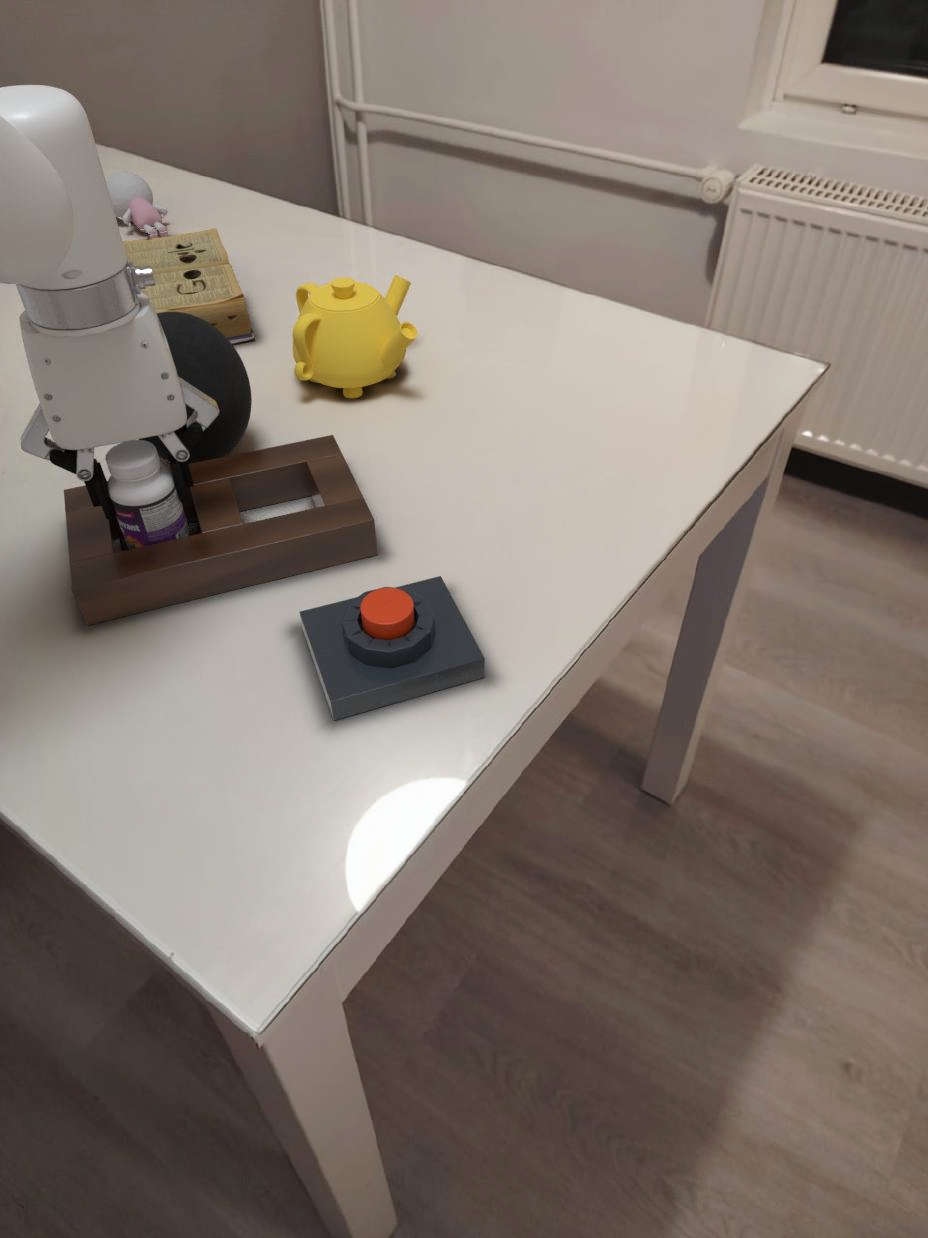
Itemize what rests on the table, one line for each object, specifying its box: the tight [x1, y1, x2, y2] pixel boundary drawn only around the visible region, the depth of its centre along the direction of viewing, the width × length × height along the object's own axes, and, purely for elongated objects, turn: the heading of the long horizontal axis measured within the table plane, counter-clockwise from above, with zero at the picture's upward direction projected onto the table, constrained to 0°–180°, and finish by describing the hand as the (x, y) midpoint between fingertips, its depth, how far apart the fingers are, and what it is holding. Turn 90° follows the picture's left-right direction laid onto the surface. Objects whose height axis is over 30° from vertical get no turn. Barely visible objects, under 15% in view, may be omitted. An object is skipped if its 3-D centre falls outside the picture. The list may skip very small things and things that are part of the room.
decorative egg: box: [137, 312, 253, 464], centre depth 83 cm, size 12×12×15 cm
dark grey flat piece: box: [299, 575, 486, 722], centre depth 67 cm, size 12×10×4 cm
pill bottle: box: [105, 439, 192, 550], centre depth 73 cm, size 5×5×10 cm
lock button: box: [360, 587, 414, 640], centre depth 66 cm, size 4×4×2 cm
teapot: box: [292, 274, 419, 399], centre depth 96 cm, size 14×14×11 cm
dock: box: [63, 434, 379, 626], centre depth 78 cm, size 14×25×4 cm, turn 111°
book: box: [122, 228, 255, 345], centre depth 110 cm, size 25×17×6 cm
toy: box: [106, 171, 169, 239], centre depth 131 cm, size 8×7×15 cm
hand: (146, 499), depth 73 cm, fingers closed on pill bottle, 5 cm apart
